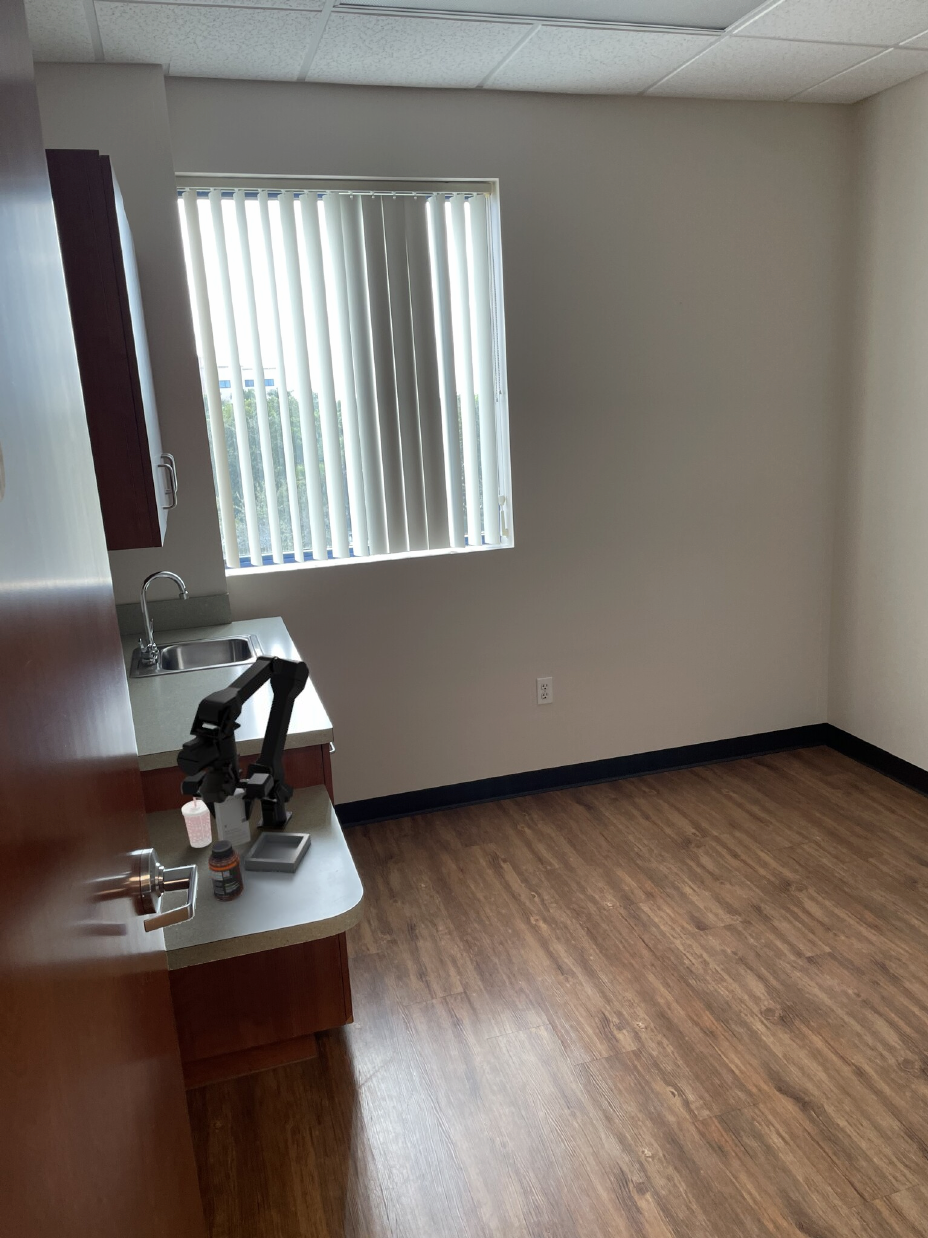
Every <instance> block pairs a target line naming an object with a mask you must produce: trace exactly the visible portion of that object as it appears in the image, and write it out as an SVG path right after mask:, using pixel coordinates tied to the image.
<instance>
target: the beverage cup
mask: <svg viewBox="0 0 928 1238" xmlns="http://www.w3.org/2000/svg"><path fill="white" fill-rule="evenodd" d="M192 799H193V800H191V801H189V802H187V803H185V804H184V805H183V806H182V807H181V812H182V816H183V817H184V821H185V825H186V829H187V833H188V834H187V835H188V839H189V843H190V846H191V847H192V848H196V849H197V848H204V847H207V846H209V845H210V844H211V843H212V841H213V840H212V830H211V829H212V827H211V813H210V811H209V810H208V808H207V806H206V805H205V803H204V802H203V801H202V800H201V799H197V798H194V797H192Z"/></svg>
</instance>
